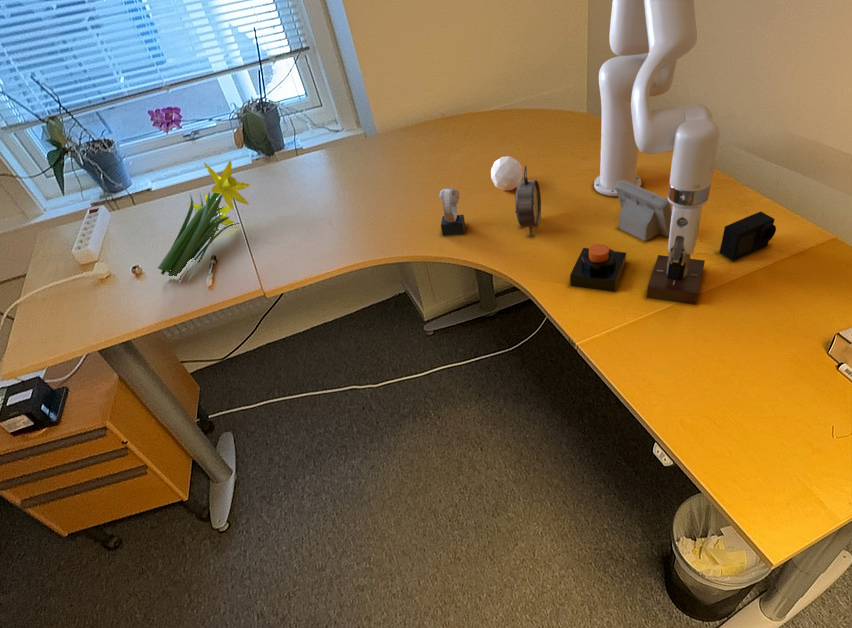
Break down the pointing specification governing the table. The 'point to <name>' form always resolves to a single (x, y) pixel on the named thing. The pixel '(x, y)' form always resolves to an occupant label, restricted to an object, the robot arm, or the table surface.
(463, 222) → the watch
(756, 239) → the digital camera
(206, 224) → the daffodil flowers
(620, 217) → the digital clock
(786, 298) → the table surface
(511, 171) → the white faceted rounded piece
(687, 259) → the dial
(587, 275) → the button box
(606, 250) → the button
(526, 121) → the table surface
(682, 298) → the dial panel
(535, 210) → the alarm clock
